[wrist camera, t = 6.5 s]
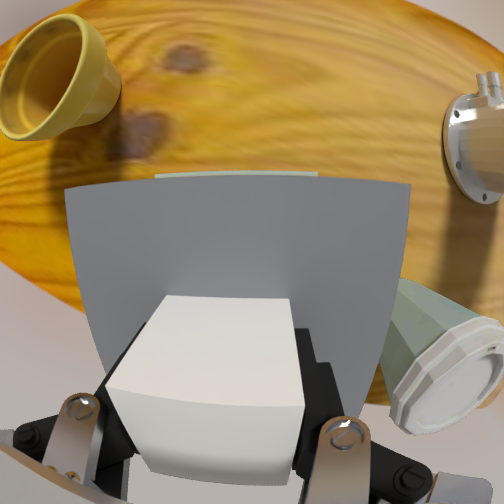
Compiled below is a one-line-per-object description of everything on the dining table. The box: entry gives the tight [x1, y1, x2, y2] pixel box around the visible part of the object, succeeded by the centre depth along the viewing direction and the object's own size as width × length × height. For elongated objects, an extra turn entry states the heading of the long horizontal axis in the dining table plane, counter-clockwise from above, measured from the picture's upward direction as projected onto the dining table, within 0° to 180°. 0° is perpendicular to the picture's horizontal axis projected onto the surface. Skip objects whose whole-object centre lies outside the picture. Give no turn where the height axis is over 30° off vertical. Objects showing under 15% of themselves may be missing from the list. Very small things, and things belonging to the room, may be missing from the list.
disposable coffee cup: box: [379, 278, 504, 436], centre depth 19 cm, size 11×11×15 cm
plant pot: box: [0, 14, 121, 141], centre depth 16 cm, size 10×10×10 cm
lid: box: [64, 175, 411, 485], centre depth 9 cm, size 13×13×6 cm
